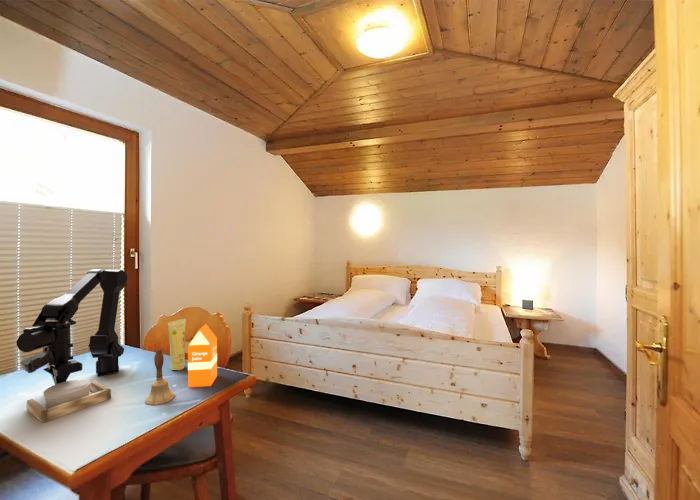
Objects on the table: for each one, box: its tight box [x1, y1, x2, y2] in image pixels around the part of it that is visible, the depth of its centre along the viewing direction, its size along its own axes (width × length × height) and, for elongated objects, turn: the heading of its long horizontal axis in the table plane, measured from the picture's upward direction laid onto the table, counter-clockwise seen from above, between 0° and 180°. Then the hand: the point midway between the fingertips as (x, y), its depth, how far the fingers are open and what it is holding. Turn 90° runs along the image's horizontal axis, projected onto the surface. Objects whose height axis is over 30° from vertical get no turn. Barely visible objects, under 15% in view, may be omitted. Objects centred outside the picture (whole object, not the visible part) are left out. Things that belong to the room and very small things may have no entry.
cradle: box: [26, 379, 112, 423], centre depth 99 cm, size 16×13×3 cm
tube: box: [167, 318, 187, 371], centre depth 126 cm, size 6×5×20 cm
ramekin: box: [43, 378, 92, 409], centre depth 99 cm, size 11×11×5 cm
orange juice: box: [187, 323, 218, 388], centre depth 115 cm, size 8×9×20 cm
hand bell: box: [144, 348, 176, 406], centre depth 102 cm, size 8×8×16 cm
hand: (59, 389), depth 103 cm, fingers closed
